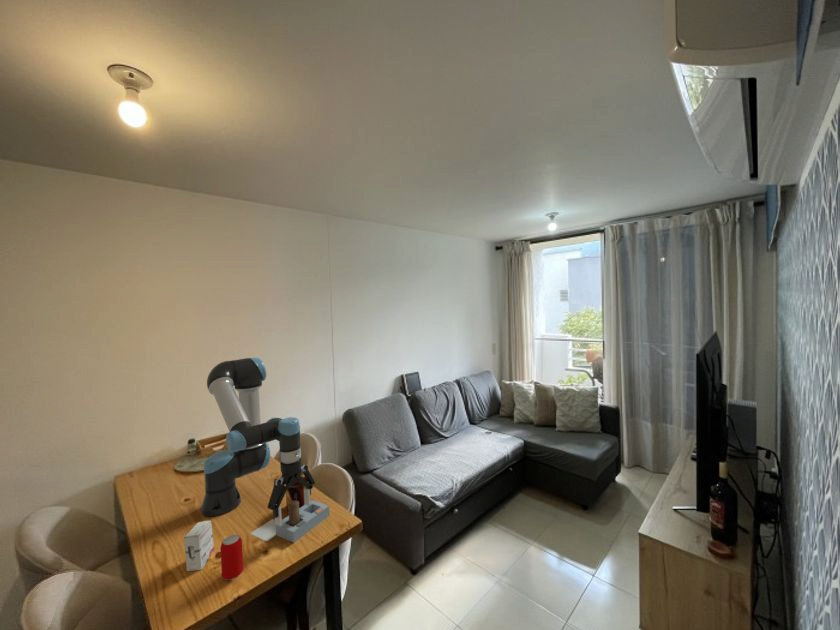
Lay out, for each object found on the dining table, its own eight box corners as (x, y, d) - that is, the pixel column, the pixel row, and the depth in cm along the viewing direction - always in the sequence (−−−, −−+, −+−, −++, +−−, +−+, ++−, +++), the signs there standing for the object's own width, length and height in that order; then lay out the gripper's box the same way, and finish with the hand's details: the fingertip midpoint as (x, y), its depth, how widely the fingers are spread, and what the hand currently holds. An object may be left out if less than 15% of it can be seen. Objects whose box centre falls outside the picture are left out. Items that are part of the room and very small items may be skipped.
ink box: (200, 553, 121) (198, 521, 120) (214, 552, 121) (212, 519, 121) (185, 572, 112) (183, 537, 112) (201, 570, 112) (199, 535, 112)
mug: (295, 523, 136) (293, 494, 135) (283, 508, 146) (282, 481, 146) (317, 513, 142) (316, 485, 142) (305, 500, 152) (304, 473, 152)
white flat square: (250, 536, 129) (249, 533, 129) (272, 521, 138) (272, 518, 138) (266, 544, 124) (266, 541, 124) (289, 528, 133) (289, 525, 133)
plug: (287, 535, 128) (286, 504, 128) (295, 529, 132) (294, 499, 131) (294, 538, 126) (292, 507, 126) (302, 532, 130) (301, 501, 130)
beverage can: (233, 566, 114) (231, 531, 113) (247, 569, 112) (246, 534, 112) (217, 580, 108) (215, 543, 108) (232, 584, 106) (230, 547, 106)
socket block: (276, 537, 128) (275, 523, 127) (312, 511, 143) (311, 499, 143) (294, 545, 123) (293, 531, 123) (329, 517, 138) (329, 505, 138)
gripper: (268, 476, 116) (271, 537, 116) (322, 448, 137) (324, 499, 138) (254, 472, 119) (258, 530, 120) (309, 445, 141) (311, 495, 142)
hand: (293, 514), depth 129 cm, fingers open, 13 cm apart
